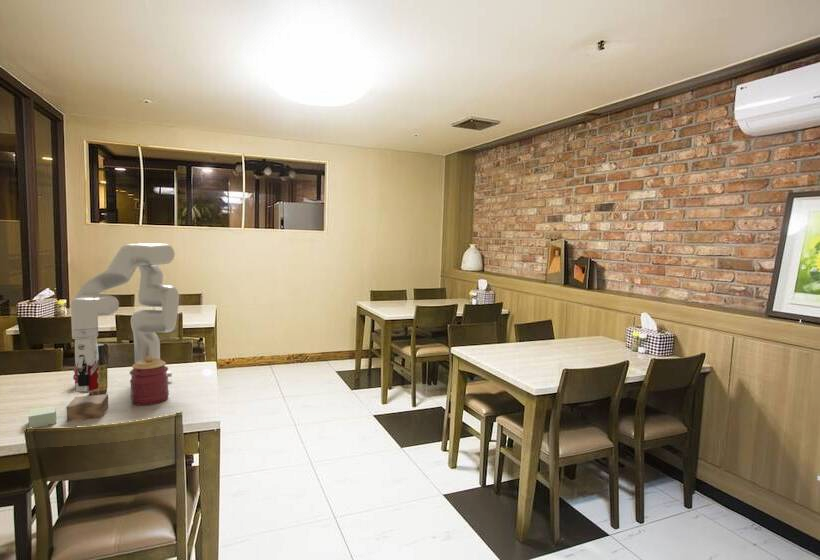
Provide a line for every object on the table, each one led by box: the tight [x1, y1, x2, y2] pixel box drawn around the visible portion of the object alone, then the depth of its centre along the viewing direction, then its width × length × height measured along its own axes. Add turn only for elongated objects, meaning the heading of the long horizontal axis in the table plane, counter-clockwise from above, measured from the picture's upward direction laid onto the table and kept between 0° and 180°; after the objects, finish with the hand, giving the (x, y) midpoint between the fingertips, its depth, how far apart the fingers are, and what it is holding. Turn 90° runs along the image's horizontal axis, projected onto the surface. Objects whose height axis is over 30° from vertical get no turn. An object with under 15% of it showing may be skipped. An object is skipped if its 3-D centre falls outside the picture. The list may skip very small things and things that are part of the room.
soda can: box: [73, 360, 99, 394], centre depth 161 cm, size 7×7×12 cm
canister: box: [129, 355, 170, 406], centre depth 177 cm, size 13×13×18 cm
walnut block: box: [66, 393, 109, 422], centre depth 162 cm, size 10×10×5 cm
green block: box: [27, 405, 57, 429], centre depth 154 cm, size 7×7×4 cm
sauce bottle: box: [88, 343, 108, 396], centre depth 182 cm, size 7×6×20 cm
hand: (87, 382), depth 161 cm, fingers closed on soda can, 6 cm apart
